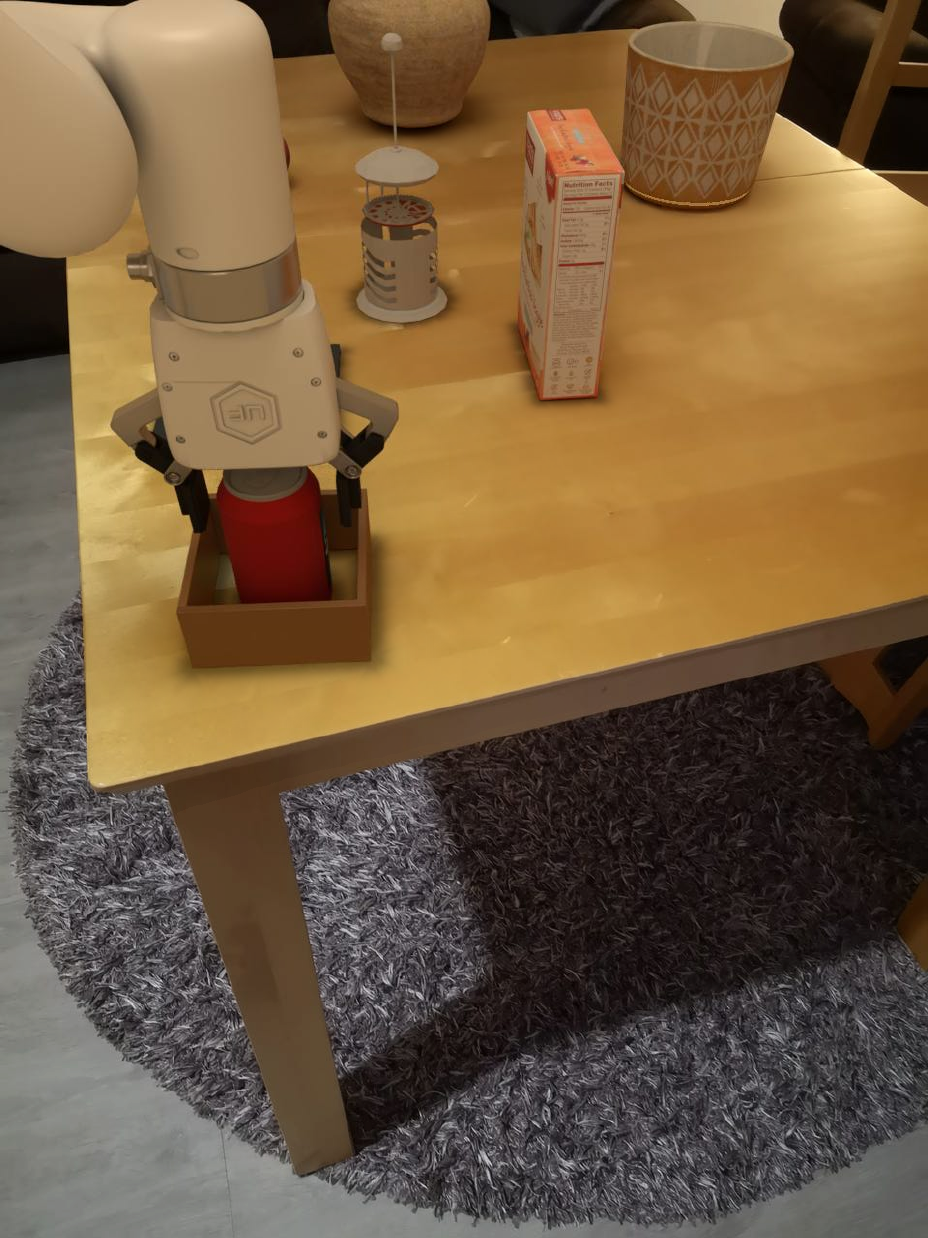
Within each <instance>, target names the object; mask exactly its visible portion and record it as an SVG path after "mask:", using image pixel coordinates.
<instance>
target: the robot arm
mask: <svg viewBox="0 0 928 1238" xmlns="http://www.w3.org/2000/svg"><path fill="white" fill-rule="evenodd" d="M270 39H271V38H270V35H269V33H268V29H267V27H266V26H265V24H264V21H263V20H262V18H261V17H260V16H259V14H257V12H256V11H255V10H254V9H252V8H251V7H250V6H248V5H247V4H246V3H244V2H242V1H239V0H135V1H133V2H130V3H128V4H126V5H118V6H117V5H114V6H113V5H112V6H109V5H108V6H107V5H81V4H79V5H78V4H63V3H51V2H39V1H26V0H25V1H24V0H0V246H2V247H4V248H7V249H10V250H12V251H15V252H17V253H21V254H25V255H29V256H33V257H38V258H51V259H62V258H71V257H77V256H80V255H84V254H86V253H90V252H93V251H95V250H96V249H98V248H100V247H102V246H103V245H105V244H106V243H109V242H110V240H111V239H112V238H113V237H115V236H116V234H117V233H119V232H120V230H121V229H122V228H123V227H124V225H125V223H126V222H127V220H128V218H129V217H130V214H131V212H132V209H133V207H134V204H135V201H136V199H138V203H139V208H140V211H141V217H142V220H143V224H144V227H145V230H146V236H147V240H148V247H147V249H145V250H140V252H135V253H134V252H133V253H127V254H126V258H125V259H126V260H125V262H126V271H127V274H128V277H129V279H130V280H131V281H144V282H145V283H151V284H152V286H153V288H154V289H156V292H157V294H156V295H155V297H154V298H153V300H152V302H151V303H150V306H149V333H150V344H151V355H152V362H153V368H154V375H155V381H156V387H155V388H154V389H152V390H150V391H148V392H146V393H144V394H142V395H140V396H139V397H137V398H135V399H134V400H131V401H129V402H128V403H126V404H124V405H122V406H120V407H118V408H116V409H115V410H114V412H113V415H112V418H111V421H110V424H109V425H110V428H111V429H110V430H111V431H113V432H114V433H115V434H116V435H117V437H119V439H120V440H122V441H123V443H124V444H126V446H127V447H128V448H131V449H132V450H133V451H134V455H135V458H136V459H138V460H139V461H140V462H142V463H143V464H146V466H149V467H150V468H151V469H154V470H156V471H157V472H159V473H160V474H162V475H163V480H164V481H165V483H167V485H170V486H173V489H174V491H175V495H176V499H177V502H178V507H179V510H180V512H181V515H182V516H189V520H190V524H191V528H192V532H193V531H194V533H203V531H206V527H207V522H208V517H209V511H210V499H209V495H208V494H209V491H208V487H207V483H206V479H205V475H204V471H223V470H230V469H259V468H284V467H305V466H308V467H314V466H321V465H324V464H329V465H330V466H332V467H333V468H334V469H335V488H336V489H337V497H338V506H339V514H340V522H341V525H344V527H352V509H359V508H362V495H361V489H362V483H361V476H362V473H363V469H364V468H365V467H366V466H367V465H368V464H370V463H371V462H372V461H373V460H374V459H375V458H376V457H378V455H379V454H381V452H383V450H384V448H385V444H386V442H387V440H388V439H389V438H390V436H391V434H392V432H393V430H394V429H395V427H396V425H397V423H398V422H399V419H400V412H399V409H400V408H399V403H398V402H397V400H395V399H392V398H390V397H387V396H385V395H382V394H380V393H377V392H375V391H373V390H370V389H368V388H365V387H362V386H360V385H357V384H355V383H352V382H351V381H348V380H345V379H343V378H340V377H339V378H337V377H336V372H335V367H334V361H333V356H332V351H331V346H330V344H331V342H330V338H329V334H328V330H327V325H326V322H325V318H324V316H323V312H322V307H321V305H320V302H319V298H318V297H317V293H316V292H315V289H314V286H313V285H312V284H311V282H309V281H308V280H307V279H305V278H302V272H301V264H300V256H299V248H298V241H297V234H296V226H295V218H294V210H293V209H294V208H293V203H292V195H291V188H290V180H289V172H288V171H287V164H286V156H285V148H284V140H283V137H284V135H283V134H284V133H283V126H282V118H281V109H280V101H279V94H278V86H277V85H278V84H277V78H276V70H275V63H274V56H273V49H272V45H271V40H270ZM341 410H343V411H346V412H349V413H350V414H353V415H356V416H359V417H361V418H364V419H365V420H366V419H367V420H369V421H370V422H369V423H368V424H367V425H365V427H364V428H363V429H362V430H360V432H359V433H357V434H356V435H354V434H353V433H352V432H350V431H349V430H348V429H347V428H346V427H344V425H342V424H341ZM162 416H163V421H164V426H165V431H166V435H167V439H168V441H167V440H165V439H163V438H162V437H160V436H159V435H157V434H156V433H154V432H153V430H149V427H148V426H147V425H149V424H151V423H152V422H155V421H156V420H157V419H158V418H160V417H162Z"/></svg>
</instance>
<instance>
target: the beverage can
mask: <svg viewBox="0 0 928 1238" xmlns="http://www.w3.org/2000/svg"><path fill="white" fill-rule="evenodd" d="M309 467H310V466H305V467H284V468H259V469H230V470H222V477H221V479H220V482H219V483H218V485H217V489H216V493H217V494H216V499H217V504H218V509H219V513H220V518H221V523H222V527H223V532H224V536H225V541H226V545H227V549H228V553H227V554H228V557H229V562H230V567H231V570H232V571H231V572H232V575H233V579H234V583H235V587H236V591H237V595H238V599H239V604H258V603H284V602H310V601H332V597H333V580H332V573H331V572H332V571H331V563H330V562H331V561H330V554H329V553H330V552H329V550H328V544H327V536H326V528H325V520H324V513H323V505H322V498H321V491H320V490H321V486H320V482H319V478H318V477H317V476H316V474H315V473H314V472H313V470H311V468H309Z"/></svg>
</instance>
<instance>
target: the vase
mask: <svg viewBox="0 0 928 1238" xmlns="http://www.w3.org/2000/svg"><path fill="white" fill-rule="evenodd" d="M327 22H328V31H329V36H330V42H331V45H332V49H333V52H334V55H335V58H336V60H337V63H338V65H339V67H340V69H341V70H342V72H343V74H344V76H345V77H346V79H347V81H348V82H349V84H350V85H351V87H352V88H353V90H354V92H355V93H356V95H357V98H358V99H359V102H360V106H361V107H360V108H361V111H362V112H363V114H364V115H365V116H366V117H368V118H369V119H370V120H372V121H374V122H376V123H378V124H382V125H385V126H389V127H394V120H393V95H392V69H391V51H387V50H383V49H382V47H381V41H382V38H383V36H384V35H386V34H388V33H396V34H398V35H399V36H400V37H401V39H402V49H400V50H397V51H394V77H395V104H396V128H403V129H404V128H405V129H420V128H429V127H433V126H438V125H441V124H445V123H448V122H449V121H452V120H453V119H454V118H456V117H457V116H458V115H459V114H460V113H461V112H462V108H463V102H464V101H463V100H464V98H465V96H466V94H467V92H468V90H469V89H470V87H471V85H472V83H473V81H474V80H475V78H476V77H477V74H478V73H479V70H480V68H481V66H482V64H483V61H484V58H485V54H486V52H487V48H488V42H489V37H490V30H491V9H490V5H489V3H488V0H330V1H329V3H328V7H327ZM428 126H429V127H428ZM417 127H418V128H417Z"/></svg>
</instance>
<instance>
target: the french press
mask: <svg viewBox="0 0 928 1238" xmlns="http://www.w3.org/2000/svg"><path fill="white" fill-rule="evenodd" d="M381 47H382V49H383V50H387V51H391V69H392V95H393V120H394V126H393V140H394V141H393V143H394V145H390V146H385V147H380V148H377V149H375V150H373V151H372V152H370V153H368V154H366V155H365V156H363V157H361V158H360V159H359V160H357V162H356V163H355V165H354V169H355V172H356V175H358V176H359V177H360V178H361V179H362V180H364V181H365V192H366V193H365V194H366V195H365V196H366V197H365V198H366V203H365V204H364V205H363V208H362V210H361V211H362V213H363V215H364V217H363V219H362V220H361V222H360V237H361V240H362V241H361V250H362V263H363V268H362V269H363V275H364V277H363V283H364V287H363V288H362V289H361V290H360V291H359V292H358V295H357V297H356V299H355V301H356V305H357V307H358V310H359V311H361V312H363V313H364V315H366V316H368V317H369V318H373V319H376V320H379V321H382V322H390V323H399V324H405V323H413V322H420V321H423V320H426V319H429V318H432V317H435V316H436V315H438V314H440V312H441V311H443V310H444V309H446V305H447V302H448V297H447V295H446V293H445V291H444V290H443V289H442V287H440V286H439V281H438V279H439V271H438V269H439V259H438V252H439V248H438V244H439V241H438V240H439V238H438V237H439V236H438V232H439V231H438V222H437V220H436V217H434V216H433V214H434V211H435V207H434V205H433V204H432V203H431V201H428V200H427V199H425V198H423V197H420V196H417V195H412V194H410V195H409V194H406V195H405V194H403V195H402V193H400V188H409V187H415V186H419V185H423V184H426V183H428V182H430V181H431V180H433V179H435V177H436V175H437V172H438V171H439V168H440V166H439V164H438V163H437V161H436V160H435V159H434V158H432V157H431V156H430V155H428V154H425V153H424V152H423V151H421V150H419V149H416V148H411V147H406V146H400V145H398V133H397V131H398V130H397V127H396V104H395V77H394V51H397V50H400V49H402V39H401V37H400V36H399V35H398V34H396V33H388V34H386V35H384V36H383V38H382V41H381ZM369 183H370V184H372V185H376V186H378V187H380V195H378V196H377V197H374V198H371V199H369V198H370V197H369V196H370V195H369ZM384 188H394V189H395V192H396V193H395V194H387V195H386V194H384ZM420 224H428V225H429V226H430V227H431V228H432V229H433V231H431V230H430V229H427V228H416V229H414V226H418V225H420ZM383 227H386V228H387V231H388V233H389V239H384V232H383ZM418 236H420V237H418ZM421 236H422V237H421ZM414 237H415V238H414ZM416 237H417V238H416ZM364 247H365V248H364ZM432 254H434V256H435V257H434V256H433V255H432ZM385 263H390V267H386V268H385ZM433 267H435V269H434V268H433ZM366 272H367V273H366Z"/></svg>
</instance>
